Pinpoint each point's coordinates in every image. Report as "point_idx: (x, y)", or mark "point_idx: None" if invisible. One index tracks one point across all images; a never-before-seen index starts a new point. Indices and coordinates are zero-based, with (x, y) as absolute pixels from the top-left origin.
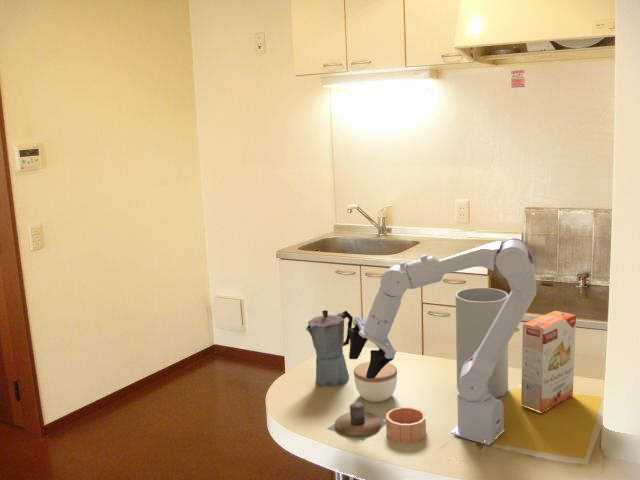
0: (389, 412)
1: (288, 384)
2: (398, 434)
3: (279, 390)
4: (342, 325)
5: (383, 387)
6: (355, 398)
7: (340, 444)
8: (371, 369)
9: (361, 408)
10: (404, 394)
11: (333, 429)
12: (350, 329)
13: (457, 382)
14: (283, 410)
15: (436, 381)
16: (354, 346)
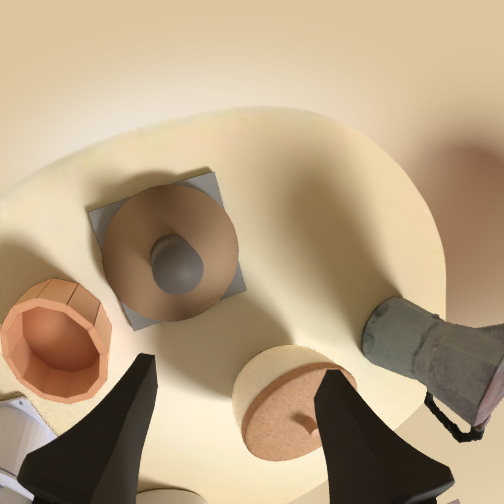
0: (92, 334)
1: (428, 247)
2: (26, 293)
3: (424, 217)
4: (465, 416)
5: (238, 401)
6: (302, 334)
7: (123, 153)
8: (107, 395)
9: (152, 271)
10: None
11: (198, 182)
12: (444, 486)
13: (188, 501)
14: (366, 162)
15: (242, 478)
16: (350, 434)
